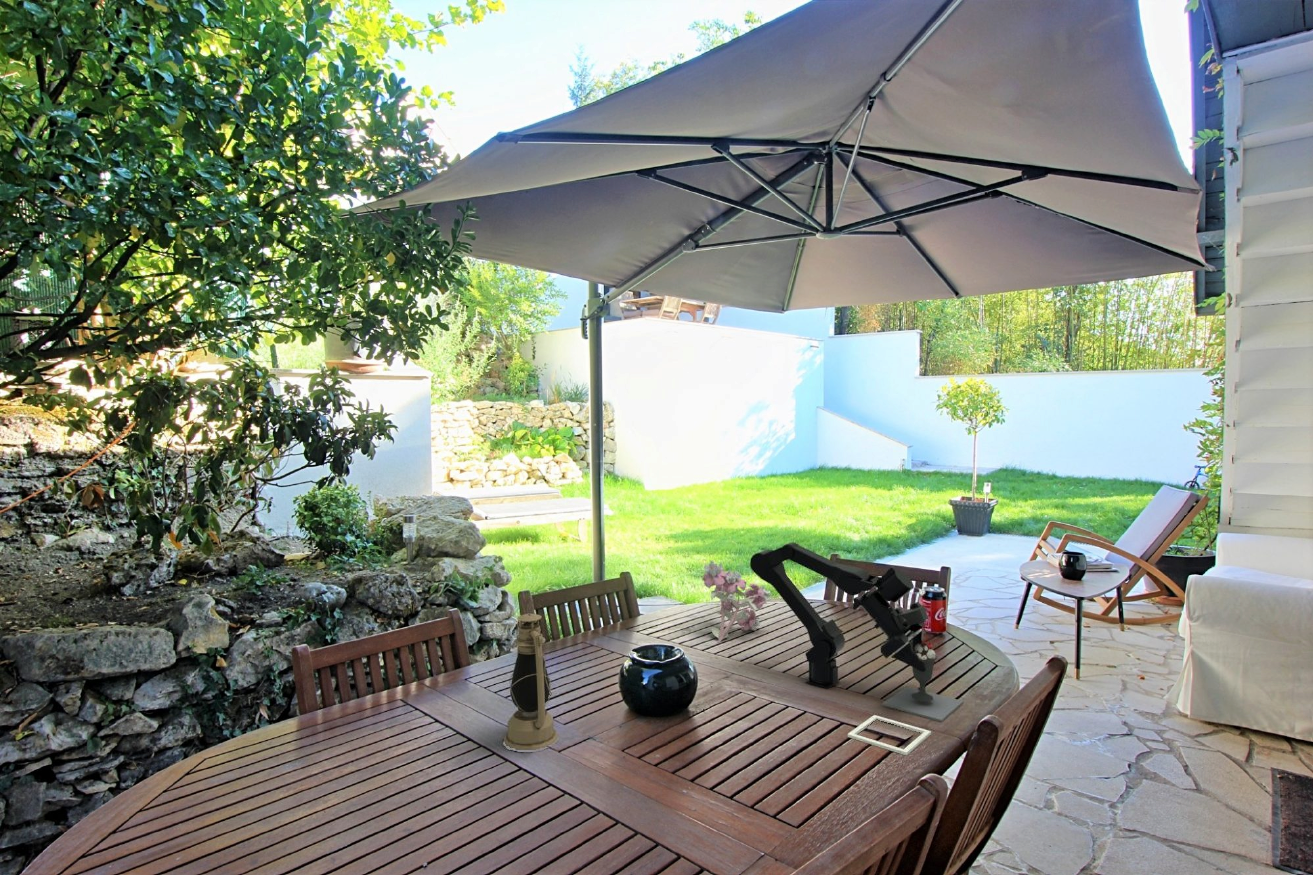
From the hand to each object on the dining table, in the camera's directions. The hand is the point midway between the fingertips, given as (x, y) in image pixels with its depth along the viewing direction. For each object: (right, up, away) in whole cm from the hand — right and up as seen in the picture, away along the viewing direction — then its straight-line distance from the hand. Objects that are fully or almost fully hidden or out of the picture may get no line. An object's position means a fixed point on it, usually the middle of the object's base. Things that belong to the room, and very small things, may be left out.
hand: (928, 666), depth 173 cm
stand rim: (-14, -10, -15) cm, 23 cm away
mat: (-1, -9, +1) cm, 9 cm away
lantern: (-91, -11, -16) cm, 93 cm away
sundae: (-1, -8, +1) cm, 8 cm away
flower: (-39, -8, +58) cm, 70 cm away
